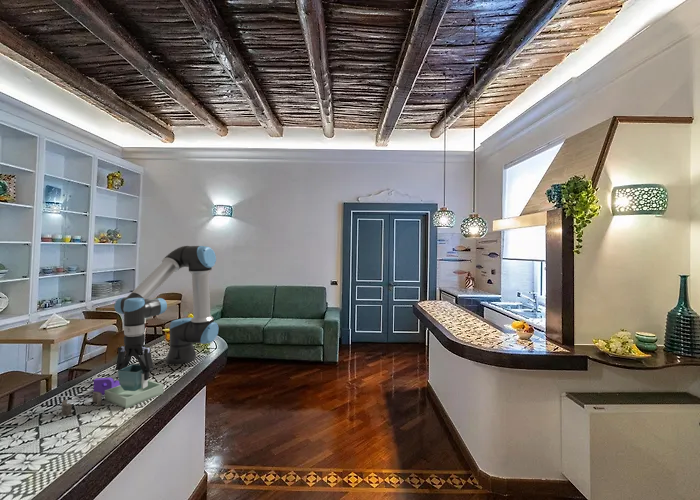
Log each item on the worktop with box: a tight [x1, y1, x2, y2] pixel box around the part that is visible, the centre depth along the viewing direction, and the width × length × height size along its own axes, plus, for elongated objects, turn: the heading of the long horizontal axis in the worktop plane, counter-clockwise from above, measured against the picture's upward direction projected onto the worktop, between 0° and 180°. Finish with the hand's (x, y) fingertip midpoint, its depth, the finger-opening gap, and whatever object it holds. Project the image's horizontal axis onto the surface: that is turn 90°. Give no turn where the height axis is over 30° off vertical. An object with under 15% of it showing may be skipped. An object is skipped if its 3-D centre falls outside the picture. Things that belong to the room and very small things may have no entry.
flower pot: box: [117, 364, 143, 391], centre depth 146 cm, size 9×9×9 cm
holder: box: [61, 391, 103, 417], centre depth 136 cm, size 12×7×4 cm, turn 142°
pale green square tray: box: [104, 379, 164, 409], centre depth 146 cm, size 16×16×4 cm
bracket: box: [93, 377, 120, 396], centre depth 154 cm, size 12×7×7 cm, turn 13°
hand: (134, 386), depth 146 cm, fingers closed on flower pot, 9 cm apart
